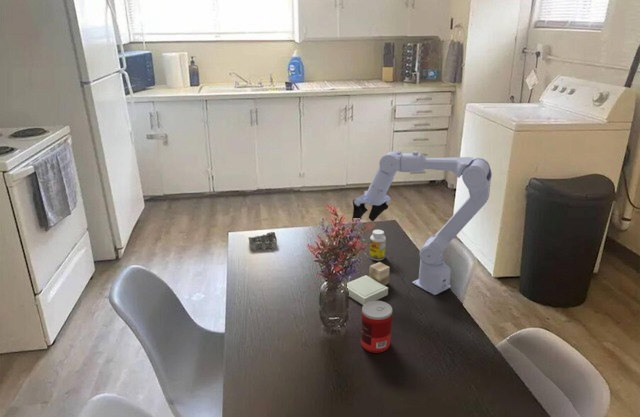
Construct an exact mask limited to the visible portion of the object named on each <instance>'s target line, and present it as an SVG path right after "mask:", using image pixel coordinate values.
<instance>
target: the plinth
mask: <svg viewBox="0 0 640 417" xmlns="http://www.w3.org/2000/svg"><path fill="white" fill-rule="evenodd" d="M346 283H347V288H348V291H349V296H348V297H350V298H351V299H353V300H354V301H356V302H358V303H359V304H361V305H362V306H363V305H364V304H366V303H367V302H370V301H379V300H380V299H382V298H384V297H386V296H388V295H389V287H387V286H386V285H382V284H381V283H379V282H377V281H375V280H374V279H372V278H370V277H369V275H366V274H365V275H363V276H361V277H358V278H356V279H353V280H351V281H349V282H346Z"/></svg>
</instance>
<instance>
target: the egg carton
mask: <svg viewBox="0 0 640 417" xmlns="http://www.w3.org/2000/svg"><path fill="white" fill-rule="evenodd" d="M277 243H278V239H277V235H276V232H275V231H274V232H273V231H271V232H266V234H262V235H255V236H253V237H252V236H249V237H248V244H249V249H250V250H253V251H256V250H258V249H261V250H266V249H267V248H271V249H275V248H276V247H278V244H277Z"/></svg>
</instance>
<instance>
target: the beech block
mask: <svg viewBox="0 0 640 417" xmlns="http://www.w3.org/2000/svg"><path fill="white" fill-rule="evenodd" d="M368 273H369V275H368V277H370V278H372V279H374V280H375V281H377V282H379V283H381V284H382V285H384V286H386V285H389V283H390V282H389V281H390V266H388V265H386V264H384V263H383V262H381V261H378V262H376V263H373V264H371V265H369V271H368Z"/></svg>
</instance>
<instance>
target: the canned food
mask: <svg viewBox="0 0 640 417" xmlns="http://www.w3.org/2000/svg"><path fill="white" fill-rule="evenodd" d="M361 308H362V309H361V324H360V326H361V328H360V345H361V346H362V348H363V349H364V350H365V351H367V352H369V353H371V354H372V353H373V354H380V353H383V352H385V351H387V350H388V349H389V347H390V345H391V340H392V339H391V338H392V325H393V307H392V305H391V304H389V303H388V302H386V301H382V300H376V301H370V302H367V303H366V304H364V305H362V306H361Z"/></svg>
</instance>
